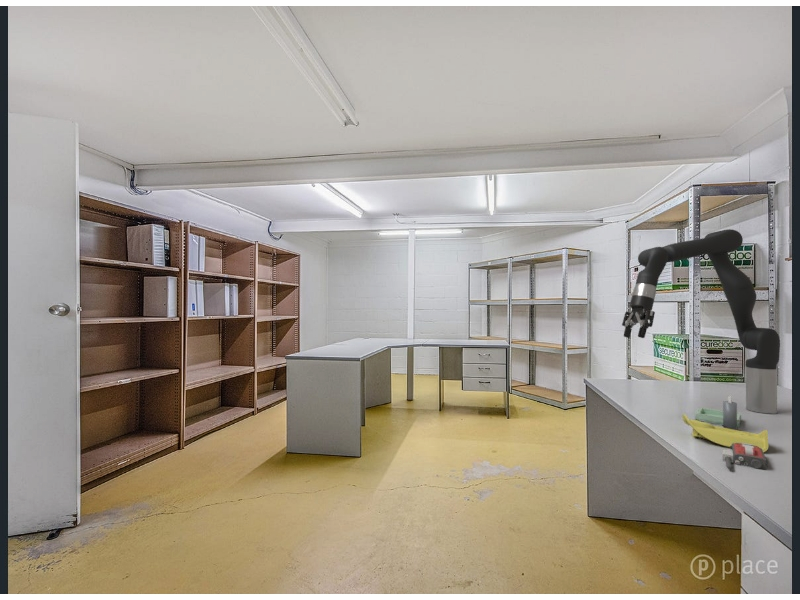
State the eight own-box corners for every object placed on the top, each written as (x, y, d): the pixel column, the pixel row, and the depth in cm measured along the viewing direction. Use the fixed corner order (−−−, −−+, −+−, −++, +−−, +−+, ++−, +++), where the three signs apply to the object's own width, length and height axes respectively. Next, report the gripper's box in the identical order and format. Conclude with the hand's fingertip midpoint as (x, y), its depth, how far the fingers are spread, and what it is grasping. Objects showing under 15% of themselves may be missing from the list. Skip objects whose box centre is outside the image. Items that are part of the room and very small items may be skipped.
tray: (699, 414, 151) (699, 407, 151) (740, 420, 143) (740, 413, 143) (695, 420, 142) (695, 413, 143) (738, 427, 134) (738, 420, 134)
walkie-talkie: (721, 449, 114) (723, 472, 98) (721, 434, 114) (723, 454, 99) (762, 456, 109) (771, 481, 93) (762, 440, 109) (771, 463, 93)
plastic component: (760, 435, 119) (768, 428, 112) (761, 460, 117) (768, 455, 109) (681, 419, 130) (683, 412, 123) (679, 442, 128) (681, 436, 120)
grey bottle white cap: (723, 426, 135) (723, 394, 135) (737, 429, 133) (737, 396, 133) (722, 429, 133) (722, 396, 133) (736, 431, 130) (736, 398, 130)
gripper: (665, 298, 144) (655, 340, 143) (640, 301, 159) (630, 339, 157) (646, 292, 144) (636, 334, 143) (622, 296, 158) (613, 334, 157)
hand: (633, 337), depth 150 cm, fingers open, 8 cm apart
